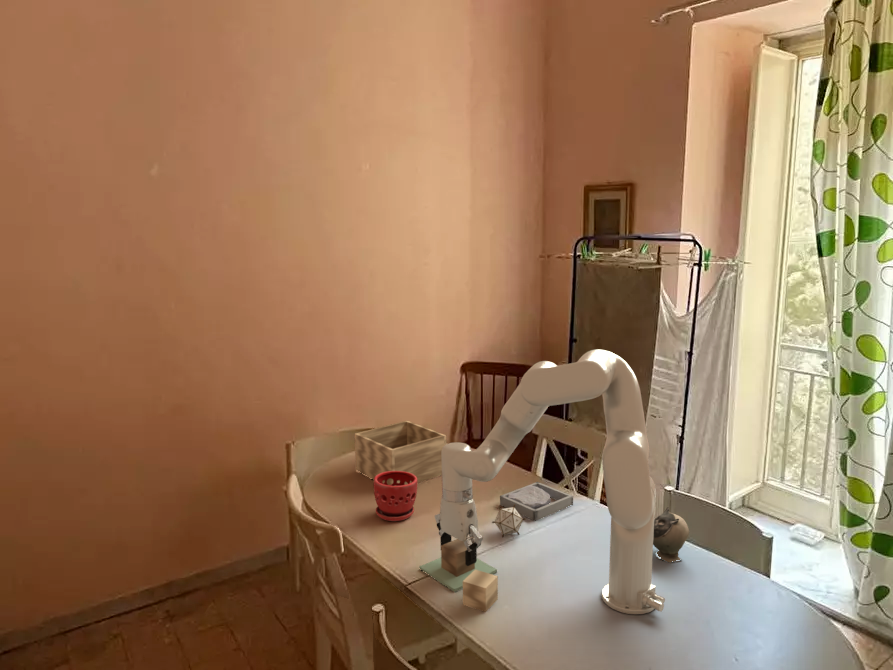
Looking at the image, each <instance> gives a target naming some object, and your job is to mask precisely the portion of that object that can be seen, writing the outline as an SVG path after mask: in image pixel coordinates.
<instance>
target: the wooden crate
mask: <svg viewBox="0 0 893 670" xmlns="http://www.w3.org/2000/svg"><path fill="white" fill-rule="evenodd" d="M446 444H447V435H446V434H443V433H441V432H438V431H436V430H433V429H430V428H428V427H425V426H423V425H420V424H417V423H415V422H412V421H409V420H404V421H399V422H396V423H393V424H388V425H383V426H380V427H376V428H372V429H366V430H364V431H359V432H355V433H354V453H355V456H354V457H355V460H354V461H355V471H356V470H358V471H360V472H361V473H363V474H365V475H367V476H368V477H370V478H372V479H373V480H374V478H375V476H376V475H378V474H380V473H383V472H387V471H404V472H409V473H412V474H413V475H415V476H416V477H417V484H418V483H422V482H425V481H429V480H431V479H435V478H437V477H440V475H441V476H442V459H441V451H442V448H443V447H444V446H445V445H446ZM373 480H372V481H373ZM384 482H385V481H383V483H384ZM410 482H411V481H410ZM397 483H400V481H399V480H398V481H397ZM411 483H412V482H411ZM387 484H388V485H391V484H393V479H388V480H387ZM407 484H408V483H407V482H405V485H407Z"/></svg>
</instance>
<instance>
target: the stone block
mask: <svg viewBox="0 0 893 670" xmlns="http://www.w3.org/2000/svg"><path fill="white" fill-rule="evenodd" d="M526 486H527V487H525V486H523V487H524V488H522V487H521V488H522V489H521V490H520V491H519V492H517V493H510V494H509V496H508V498H510V499H512V500H515V501H517V502H519V503H522V504H524V505H526V506H528V507H531V508H533V509H538V508H540V507H543V506H545V505H548V504H549V503H552V498H550V495H549V494H548V493H547V492H545V491H544V490H542V489H540V488H538V487H535V486H528V485H526Z"/></svg>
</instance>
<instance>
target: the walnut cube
mask: <svg viewBox="0 0 893 670" xmlns="http://www.w3.org/2000/svg"><path fill="white" fill-rule="evenodd" d="M469 544H470V545H471V544H472V543H469ZM466 550H467V548H466V546H465V544H464V542H463V541H460V540H458V539H456V538H455V539H454V540H451V542H449V543H446V544H444V545H441V544H440V551H441V552H440V554H441V555H440V556H441V557H440V558H441V568H443V569H445V570H446V571H448V572H450V573H451V574H453V575H454V576H456V577H458V576H460V575H462V574H464V573H466V572H469V571H471V570H473V569H475V563H474V564H471V565H469V566H467V565H466V564H465V551H466Z"/></svg>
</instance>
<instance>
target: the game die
mask: <svg viewBox="0 0 893 670" xmlns="http://www.w3.org/2000/svg"><path fill="white" fill-rule="evenodd" d="M497 509H498V512H497V515H496V517H495V519H494V521H493V520H492V521H491V524H495V526H496V527H497V529H498V530H499V531H500V532H501V534H502V535H501V538H504V537H505V535H511V534H516V533H517V535H520V532H519V530H520V528H521V526H522V523H523V521H525V520H526V519H527V518H526V517H524V518H523V516H522V515H521V514H519V513H518V511H517V510H516V509H515V504H514V506H513V507H509V508H506V507H503V508H501V507H499V506H497Z"/></svg>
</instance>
